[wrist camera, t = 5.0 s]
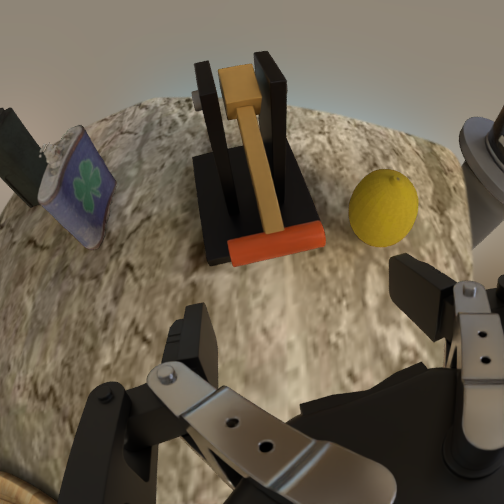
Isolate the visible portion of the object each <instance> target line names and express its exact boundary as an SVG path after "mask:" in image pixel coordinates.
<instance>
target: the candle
mask: <svg viewBox="0 0 504 504" xmlns="http://www.w3.org/2000/svg"><path fill="white" fill-rule="evenodd" d="M40 149H41V148H40V147H39V145H38V144H37V143H36V141H35V140H34V139H33V137H32V136H31V135H30V133H29V132H28V131H27V129H26V128H25V126H24V125H23V124H22V122H21V121H20V119H19V118H18V117H17V115H16V114H15V112H14V111H13V109H12V108H8V109H6V110H4V109H3V108H0V177H1V178H2V180H3V181H4V182H5V183H6V184H7V185H8V186H9V187H10V188H11V189H12V190H13V191H14V192H15V193H16V194H17V195H18V196H19V197H20V198H21V199H22V200H23V201H24V202H25V203H26V204H27V205H28V206H29V207H33V206H35V205H40V203H39V202H38V193H39V188H40V185H41V182H42V178H43V175H44V173H45V170H46V167H47V165H48V163H47V162H46V159H47V158H46V156H45V155H44V152H41V153H40ZM39 155H41V157H39Z"/></svg>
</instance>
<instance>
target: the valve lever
mask: <svg viewBox="0 0 504 504" xmlns="http://www.w3.org/2000/svg"><path fill="white" fill-rule="evenodd" d="M218 76H219V82H220V89H221V93H222V98H223V102H224V106H225V111H226V115H227V119H228V120H233V119H237V121H238V125H239V129H240V134H241V138H242V142H243V146H244V150H245V154H246V158H247V163H248V167H249V171H250V175H251V179H252V184H253V188H254V192H255V197H256V201H257V205H258V209H259V214H260V218H261V222H262V227H263V231H264V232H262V233H258V234H253V235H249V236H244V237H240V238H235V239H231V240H228V241H227V243H228V248H229V253H230V257H231V261H232V265H233V267H237V266H241V265H246V264H250V263H254V262H259V261H263V260H268V259H272V258H276V257H281V256H285V255H290V254H294V253H298V252H303V251H307V250H311V249H316V248H320V247H324V246H325V243H326V238H325V232H324V228H323V226H322V224H321V222H320V221H318V220H317V221H313V222H308V223H303V224H299V225H294V226H290V227H285V228H284V225H283V221H282V217H281V213H280V208H279V204H278V200H277V196H276V192H275V188H274V184H273V180H272V176H271V172H270V168H269V164H268V160H267V156H266V152H265V148H264V144H263V140H262V137H261V133H260V129H259V125H258V122H257V118H256V115H259V114H260V111H261V102H262V95H261V92H260V88H259V85H258V82H257V78H256V75H255V72H254V69H253V66H252V64H245V65H239V66H234V67H228V68H222V69H218Z"/></svg>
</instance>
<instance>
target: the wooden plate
mask: <svg viewBox="0 0 504 504" xmlns="http://www.w3.org/2000/svg"><path fill="white" fill-rule="evenodd" d="M57 503H58V502H57V501H55V500H54V499H52V498H51V497H49V496H48V495H47V494H45V493H44V492H42V491H40V490H39V489H37V488H36V487H34V486H33V485H31V484H29V483H27V482H26V481H24V480H22V479H20V478H18V477H16V476H14V475H12V474H9V473H7V472H3V471H0V504H57Z"/></svg>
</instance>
